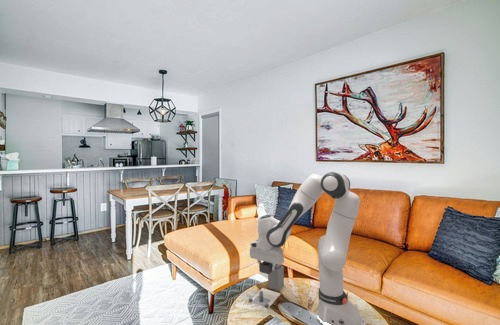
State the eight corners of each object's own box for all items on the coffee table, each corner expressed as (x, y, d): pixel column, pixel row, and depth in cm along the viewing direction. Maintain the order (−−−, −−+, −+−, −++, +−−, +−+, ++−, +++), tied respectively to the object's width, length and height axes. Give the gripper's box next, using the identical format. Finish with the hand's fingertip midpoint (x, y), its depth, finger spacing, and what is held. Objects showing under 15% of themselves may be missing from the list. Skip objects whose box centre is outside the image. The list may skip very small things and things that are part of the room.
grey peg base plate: (281, 296, 144) (280, 285, 144) (267, 311, 131) (267, 299, 130) (262, 290, 151) (262, 279, 150) (248, 304, 137) (247, 292, 137)
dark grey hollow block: (274, 269, 143) (273, 262, 143) (268, 274, 138) (268, 267, 138) (264, 267, 146) (264, 260, 146) (259, 271, 141) (259, 264, 141)
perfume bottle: (278, 293, 147) (277, 263, 146) (268, 290, 151) (267, 260, 150) (283, 288, 152) (283, 259, 151) (274, 285, 156) (273, 256, 155)
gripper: (285, 245, 138) (286, 270, 139) (253, 239, 149) (254, 262, 150) (280, 249, 133) (281, 275, 134) (247, 242, 144) (248, 266, 145)
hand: (266, 268), depth 142 cm, fingers closed on dark grey hollow block, 6 cm apart
